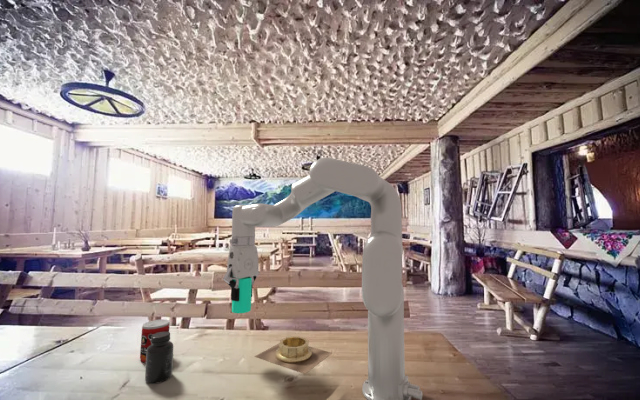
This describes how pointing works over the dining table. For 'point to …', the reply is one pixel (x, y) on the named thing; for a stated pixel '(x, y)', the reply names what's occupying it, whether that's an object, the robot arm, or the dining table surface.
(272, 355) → the walnut board
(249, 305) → the candle
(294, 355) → the candle holder
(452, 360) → the dining table surface
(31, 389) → the dining table surface
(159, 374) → the supplement bottle
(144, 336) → the canned food
